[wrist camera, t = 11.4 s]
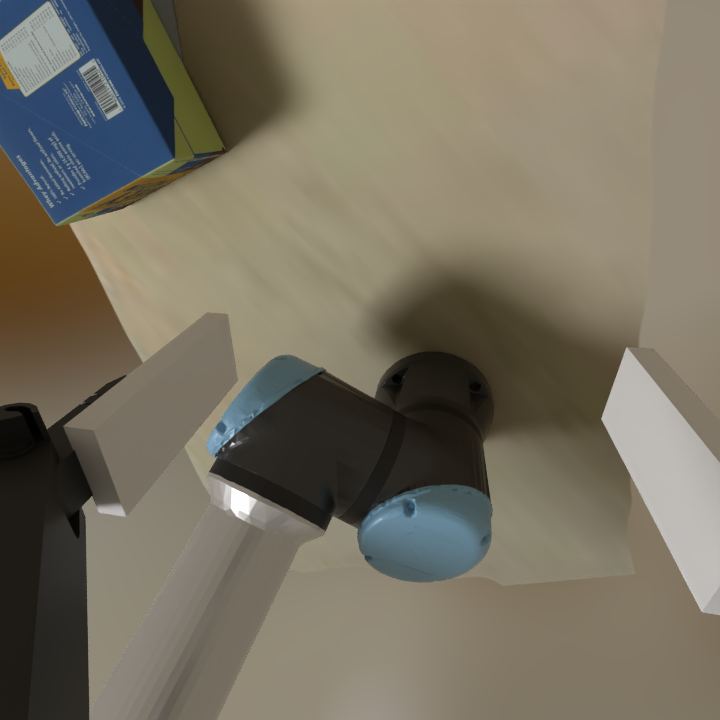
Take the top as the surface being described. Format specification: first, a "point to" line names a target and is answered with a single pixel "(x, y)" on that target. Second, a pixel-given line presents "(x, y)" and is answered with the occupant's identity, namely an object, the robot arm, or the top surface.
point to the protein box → (96, 104)
